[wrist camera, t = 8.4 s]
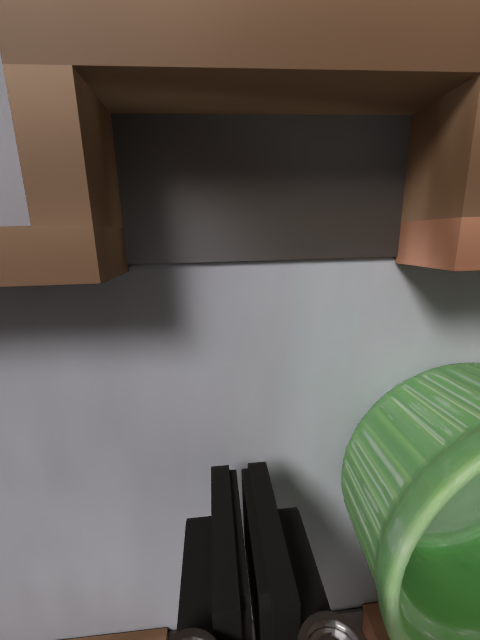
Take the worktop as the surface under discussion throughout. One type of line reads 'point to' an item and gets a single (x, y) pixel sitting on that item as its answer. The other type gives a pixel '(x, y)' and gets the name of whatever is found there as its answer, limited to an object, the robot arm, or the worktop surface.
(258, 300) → the worktop surface
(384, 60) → the box
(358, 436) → the ramekin
